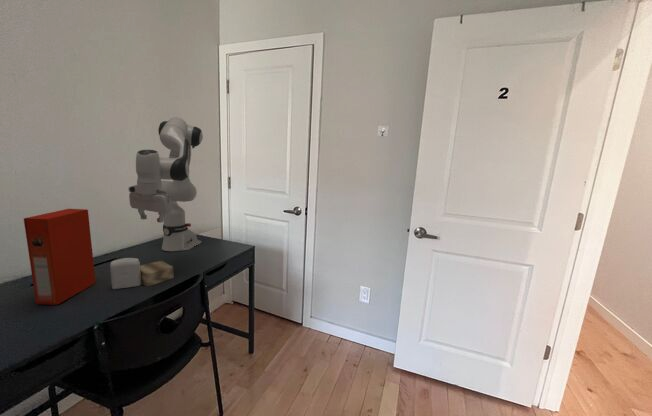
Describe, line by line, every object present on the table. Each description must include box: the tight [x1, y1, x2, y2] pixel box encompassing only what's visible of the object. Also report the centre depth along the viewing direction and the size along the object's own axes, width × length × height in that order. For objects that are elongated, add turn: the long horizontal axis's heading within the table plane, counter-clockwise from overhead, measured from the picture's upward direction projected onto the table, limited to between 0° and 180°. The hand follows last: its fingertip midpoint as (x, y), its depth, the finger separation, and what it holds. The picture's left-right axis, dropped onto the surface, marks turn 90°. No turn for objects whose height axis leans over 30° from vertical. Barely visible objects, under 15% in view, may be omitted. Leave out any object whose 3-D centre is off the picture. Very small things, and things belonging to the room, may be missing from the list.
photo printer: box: [109, 257, 142, 290], centre depth 116 cm, size 10×4×12 cm, turn 117°
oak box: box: [140, 260, 175, 287], centre depth 125 cm, size 11×11×6 cm
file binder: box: [23, 208, 96, 306], centre depth 106 cm, size 8×17×32 cm, turn 2°
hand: (151, 220), depth 121 cm, fingers open, 8 cm apart
